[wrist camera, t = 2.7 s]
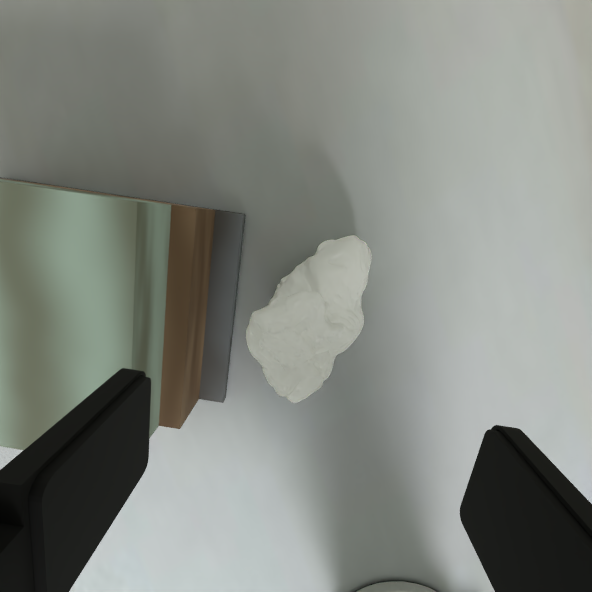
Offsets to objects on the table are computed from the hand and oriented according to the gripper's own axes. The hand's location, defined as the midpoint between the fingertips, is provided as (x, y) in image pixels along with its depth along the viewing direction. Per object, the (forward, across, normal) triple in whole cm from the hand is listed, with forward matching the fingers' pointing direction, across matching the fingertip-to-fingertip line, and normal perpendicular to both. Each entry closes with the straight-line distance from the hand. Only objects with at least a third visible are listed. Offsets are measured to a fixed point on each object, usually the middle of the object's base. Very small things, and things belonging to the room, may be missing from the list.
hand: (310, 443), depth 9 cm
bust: (+17, 0, +1) cm, 17 cm away
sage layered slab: (+17, +15, +2) cm, 23 cm away
